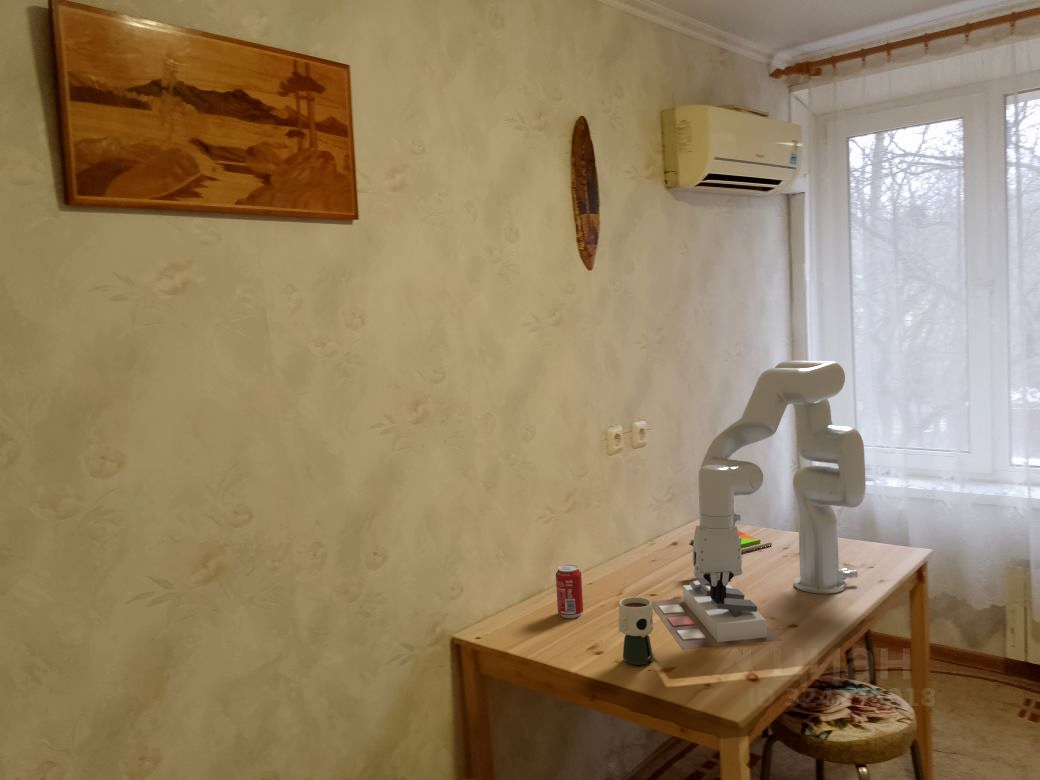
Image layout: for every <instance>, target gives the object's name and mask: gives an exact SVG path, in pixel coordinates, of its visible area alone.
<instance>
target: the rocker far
mask: <svg viewBox="0 0 1040 780" xmlns="http://www.w3.org/2000/svg"><path fill="white" fill-rule="evenodd" d="M719 574H720V573H716V580H717V582H718V581H719ZM730 582H732V579H731V580H730V581H729V582H728V583H730ZM689 585H690V586H691V588H692V589H693V590H694V591H695V592H699V591H701V585H708V586H710V583H709V582H708V581H707V580H706V579H702V578H700V579H699V578H697V579H694V580H691V581H689Z"/></svg>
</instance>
